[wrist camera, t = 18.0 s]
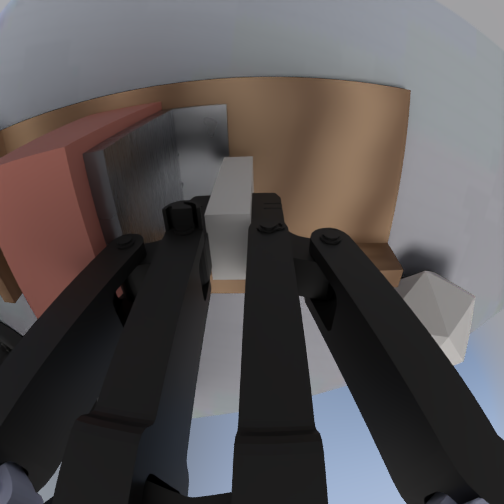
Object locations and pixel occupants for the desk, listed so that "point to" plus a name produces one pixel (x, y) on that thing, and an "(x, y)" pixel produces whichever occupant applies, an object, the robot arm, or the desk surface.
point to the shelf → (285, 152)
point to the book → (55, 204)
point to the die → (440, 310)
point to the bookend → (156, 168)
